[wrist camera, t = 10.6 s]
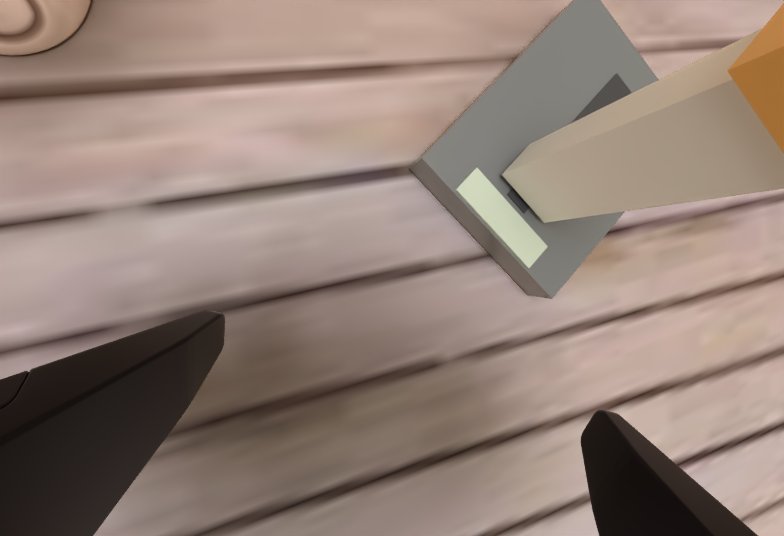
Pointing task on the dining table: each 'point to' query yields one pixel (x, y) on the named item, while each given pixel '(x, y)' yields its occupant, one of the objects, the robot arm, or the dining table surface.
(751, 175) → the lever
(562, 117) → the switch plate
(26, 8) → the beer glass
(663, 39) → the dining table surface
